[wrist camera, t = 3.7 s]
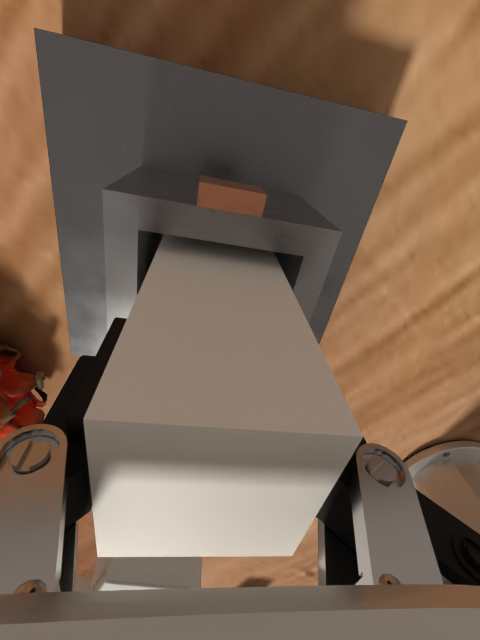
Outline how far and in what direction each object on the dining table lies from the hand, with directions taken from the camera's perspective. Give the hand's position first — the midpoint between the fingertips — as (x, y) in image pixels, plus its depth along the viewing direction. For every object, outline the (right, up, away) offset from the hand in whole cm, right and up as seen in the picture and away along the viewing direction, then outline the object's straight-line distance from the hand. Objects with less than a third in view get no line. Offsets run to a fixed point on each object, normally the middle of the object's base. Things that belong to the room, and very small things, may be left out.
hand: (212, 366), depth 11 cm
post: (-1, +6, +9) cm, 10 cm away
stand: (-1, +7, +11) cm, 13 cm away
